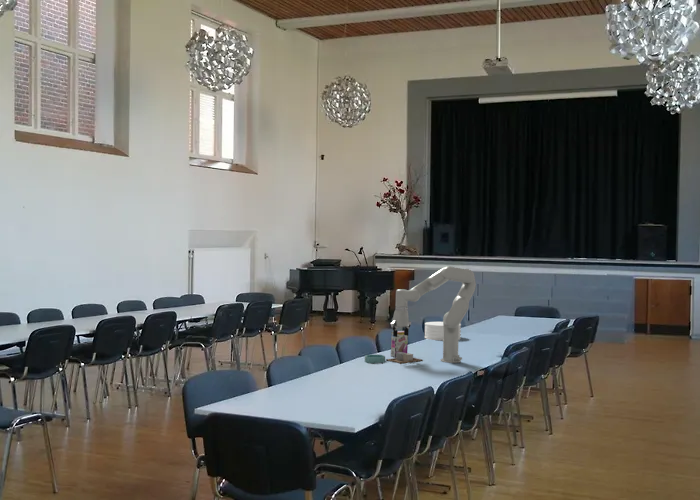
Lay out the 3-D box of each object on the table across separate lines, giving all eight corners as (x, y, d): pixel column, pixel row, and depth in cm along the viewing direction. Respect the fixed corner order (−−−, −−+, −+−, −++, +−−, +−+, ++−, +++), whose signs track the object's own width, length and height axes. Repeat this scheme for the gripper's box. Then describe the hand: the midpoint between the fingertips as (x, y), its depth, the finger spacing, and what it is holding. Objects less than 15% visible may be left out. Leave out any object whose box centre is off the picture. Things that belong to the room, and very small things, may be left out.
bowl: (388, 362, 469) (389, 356, 469) (374, 363, 461) (374, 358, 461) (375, 359, 479) (375, 353, 479) (360, 361, 471) (360, 355, 471)
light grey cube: (405, 360, 475) (405, 352, 475) (400, 360, 472) (400, 353, 472) (400, 359, 478) (401, 352, 478) (395, 359, 475) (396, 352, 475)
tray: (422, 361, 473) (422, 359, 473) (401, 364, 461) (401, 362, 461) (406, 358, 484) (406, 356, 484) (386, 361, 472) (386, 359, 472)
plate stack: (441, 335, 607) (441, 320, 607) (468, 338, 586) (468, 324, 586) (417, 337, 589) (417, 323, 589) (443, 341, 568) (443, 326, 568)
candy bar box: (395, 357, 486) (396, 332, 486) (390, 356, 490) (390, 331, 490) (408, 356, 494) (408, 331, 493) (402, 355, 497) (403, 330, 497)
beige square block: (413, 361, 470) (413, 354, 470) (408, 362, 467) (408, 354, 467) (408, 360, 473) (408, 353, 473) (403, 361, 470) (403, 353, 470)
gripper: (407, 307, 483) (406, 334, 483) (387, 309, 472) (386, 336, 472) (415, 308, 477) (414, 335, 478) (395, 310, 466) (395, 337, 466)
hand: (400, 335), depth 475 cm, fingers open, 9 cm apart
